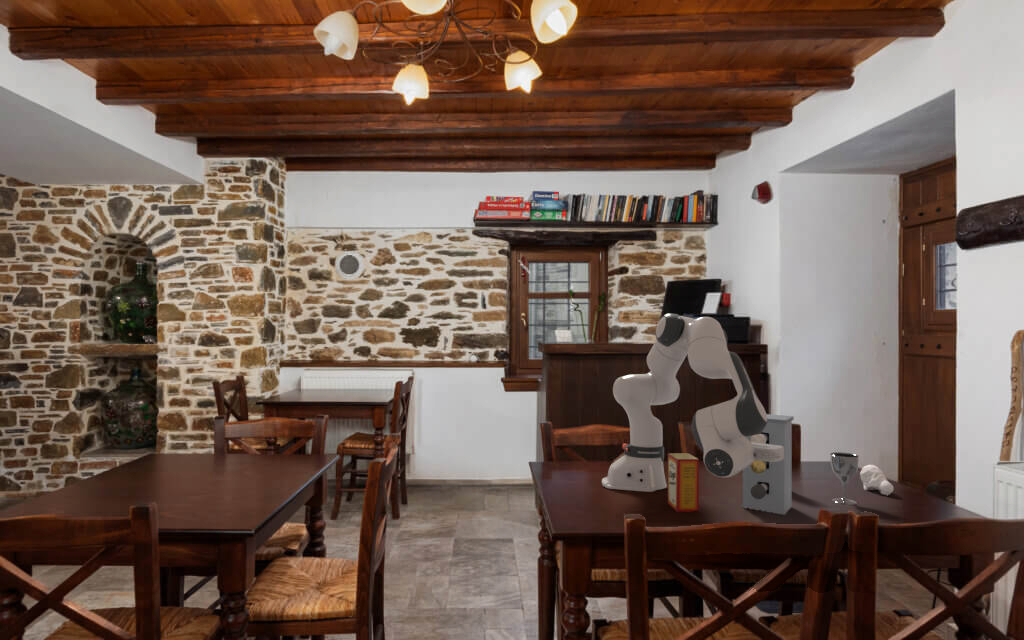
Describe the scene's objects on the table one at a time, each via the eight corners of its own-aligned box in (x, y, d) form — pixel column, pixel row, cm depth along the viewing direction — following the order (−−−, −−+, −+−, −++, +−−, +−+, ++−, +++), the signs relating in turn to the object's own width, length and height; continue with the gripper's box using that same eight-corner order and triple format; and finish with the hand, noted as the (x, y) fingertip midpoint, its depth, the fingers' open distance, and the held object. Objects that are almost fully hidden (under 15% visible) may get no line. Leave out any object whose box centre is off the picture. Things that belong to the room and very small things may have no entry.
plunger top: (764, 448, 181) (764, 434, 181) (750, 447, 183) (750, 433, 184) (772, 443, 189) (772, 430, 189) (758, 442, 191) (758, 429, 191)
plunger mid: (764, 474, 181) (764, 460, 181) (750, 472, 183) (750, 458, 183) (772, 468, 189) (772, 455, 189) (758, 466, 191) (758, 453, 191)
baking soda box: (667, 503, 195) (667, 452, 196) (688, 502, 196) (688, 452, 196) (677, 511, 186) (677, 458, 186) (698, 511, 186) (698, 458, 186)
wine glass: (825, 498, 203) (825, 452, 203) (850, 498, 203) (850, 452, 203) (837, 504, 195) (837, 457, 195) (863, 505, 195) (863, 457, 195)
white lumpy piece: (875, 462, 217) (900, 473, 205) (873, 486, 218) (899, 499, 206) (858, 463, 216) (883, 474, 205) (857, 487, 217) (881, 499, 205)
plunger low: (764, 500, 181) (764, 486, 181) (750, 498, 183) (750, 484, 183) (772, 493, 189) (772, 480, 189) (758, 491, 191) (758, 478, 191)
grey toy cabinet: (785, 515, 183) (785, 420, 184) (740, 507, 191) (740, 416, 191) (793, 507, 192) (793, 416, 193) (750, 500, 200) (750, 412, 200)
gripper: (778, 445, 159) (789, 438, 171) (699, 436, 171) (715, 430, 182) (778, 470, 159) (789, 461, 170) (699, 459, 171) (715, 451, 182)
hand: (750, 445), depth 177 cm, fingers closed
